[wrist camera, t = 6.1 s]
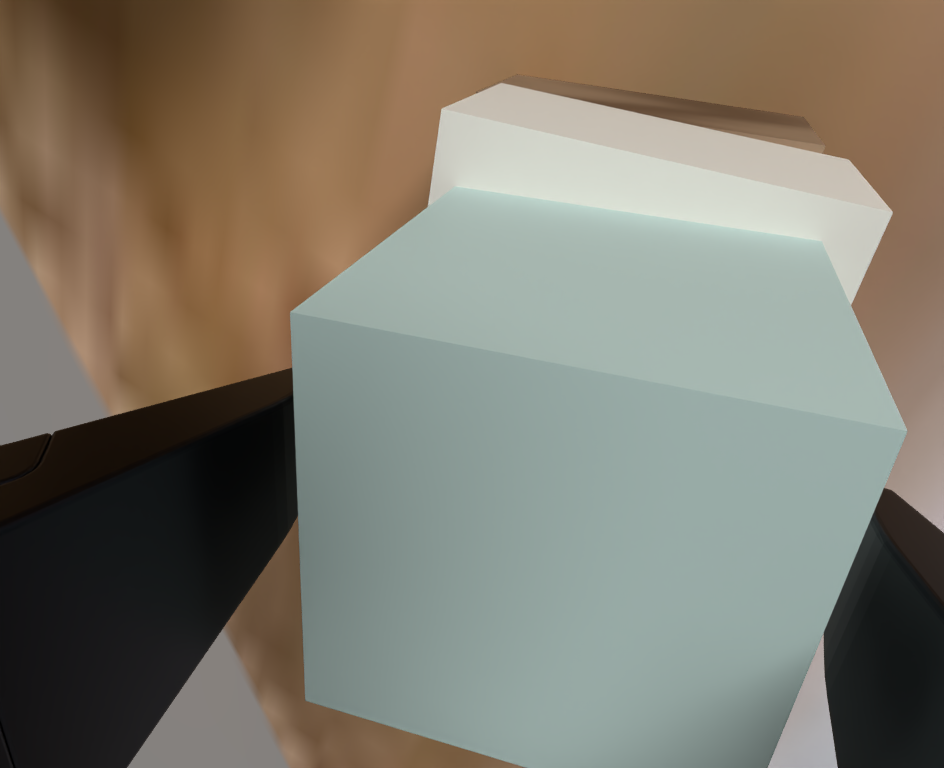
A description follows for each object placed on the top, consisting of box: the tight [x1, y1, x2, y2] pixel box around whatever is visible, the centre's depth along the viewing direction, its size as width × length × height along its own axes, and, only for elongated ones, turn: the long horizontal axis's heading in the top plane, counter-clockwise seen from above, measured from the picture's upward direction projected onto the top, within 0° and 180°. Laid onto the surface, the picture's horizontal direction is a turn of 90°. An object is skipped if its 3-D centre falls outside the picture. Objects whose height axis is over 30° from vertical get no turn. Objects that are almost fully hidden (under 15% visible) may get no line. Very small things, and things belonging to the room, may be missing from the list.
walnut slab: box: [476, 74, 825, 154], centre depth 16 cm, size 6×6×4 cm
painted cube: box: [290, 186, 907, 768], centre depth 9 cm, size 5×5×5 cm
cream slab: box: [428, 83, 893, 305], centre depth 13 cm, size 6×6×4 cm
